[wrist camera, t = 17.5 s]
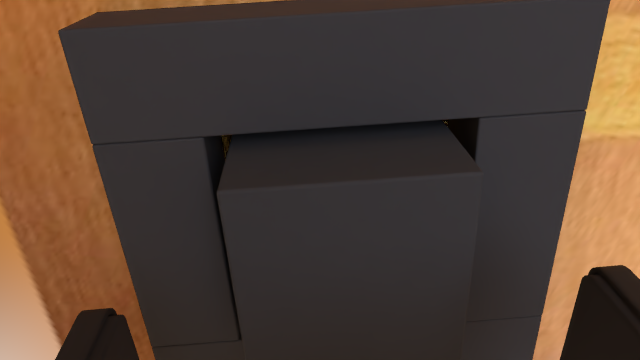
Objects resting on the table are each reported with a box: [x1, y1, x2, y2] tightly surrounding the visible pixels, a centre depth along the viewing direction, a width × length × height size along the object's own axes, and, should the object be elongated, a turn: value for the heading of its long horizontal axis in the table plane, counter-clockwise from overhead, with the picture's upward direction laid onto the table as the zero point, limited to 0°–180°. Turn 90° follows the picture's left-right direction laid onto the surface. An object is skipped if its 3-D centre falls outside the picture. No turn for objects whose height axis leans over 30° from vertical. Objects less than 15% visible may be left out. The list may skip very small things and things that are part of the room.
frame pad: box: [59, 0, 610, 360], centre depth 15 cm, size 13×13×2 cm
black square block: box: [217, 120, 484, 360], centre depth 14 cm, size 6×6×4 cm
